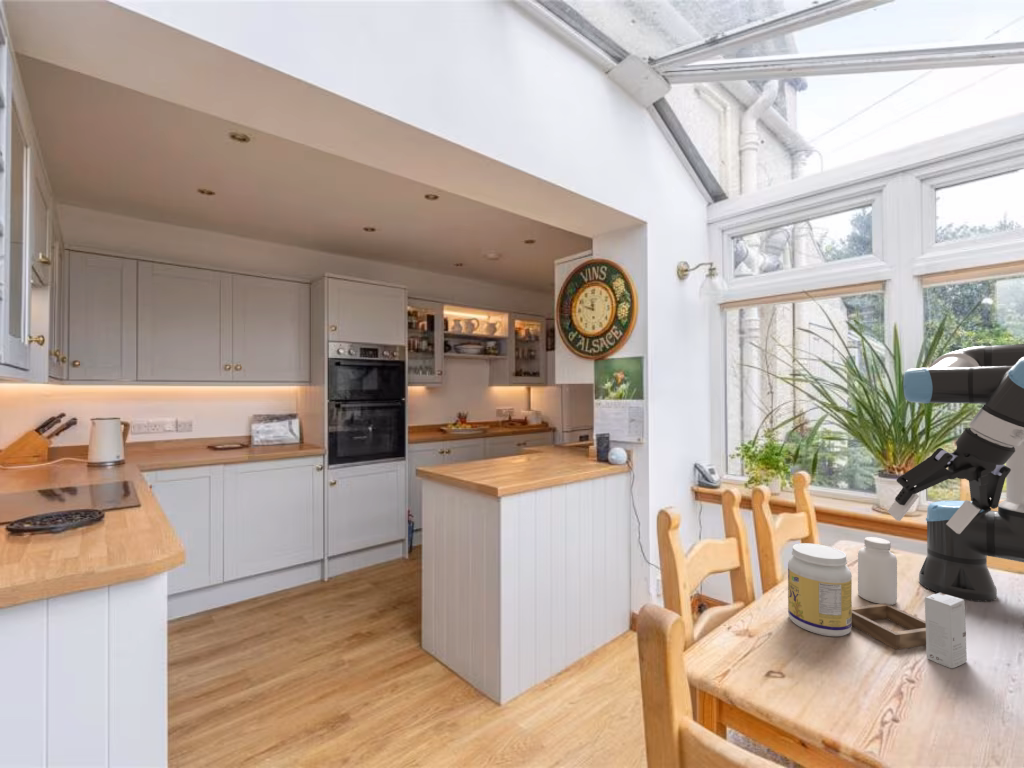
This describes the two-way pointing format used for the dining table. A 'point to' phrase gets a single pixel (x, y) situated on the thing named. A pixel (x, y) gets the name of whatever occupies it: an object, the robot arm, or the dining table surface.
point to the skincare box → (945, 630)
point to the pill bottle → (877, 571)
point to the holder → (893, 639)
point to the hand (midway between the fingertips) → (923, 522)
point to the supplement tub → (820, 589)
